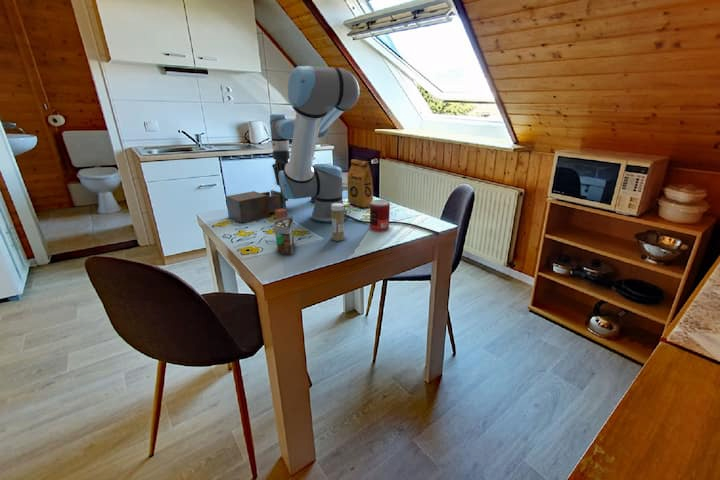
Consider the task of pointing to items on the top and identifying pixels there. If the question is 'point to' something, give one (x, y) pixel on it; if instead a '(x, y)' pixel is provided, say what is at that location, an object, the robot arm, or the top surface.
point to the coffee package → (360, 184)
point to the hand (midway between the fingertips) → (284, 200)
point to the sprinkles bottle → (337, 221)
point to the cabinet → (247, 206)
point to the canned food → (379, 215)
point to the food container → (284, 235)
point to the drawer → (275, 200)
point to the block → (280, 213)
